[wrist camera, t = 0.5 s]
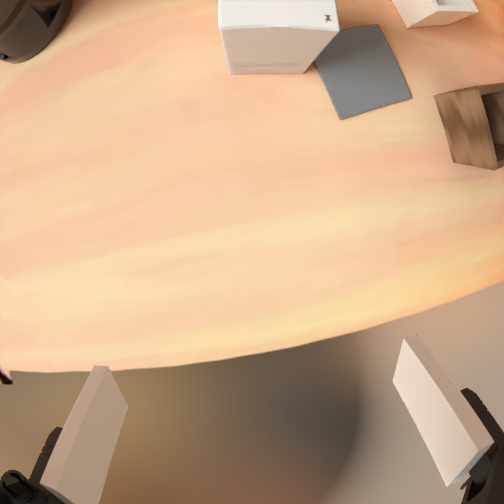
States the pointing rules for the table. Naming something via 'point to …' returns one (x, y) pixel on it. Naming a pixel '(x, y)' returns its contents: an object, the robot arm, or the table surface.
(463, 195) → the table surface
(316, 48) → the supplement box
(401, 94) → the coaster
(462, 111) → the walnut pot
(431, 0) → the ceramic pot
